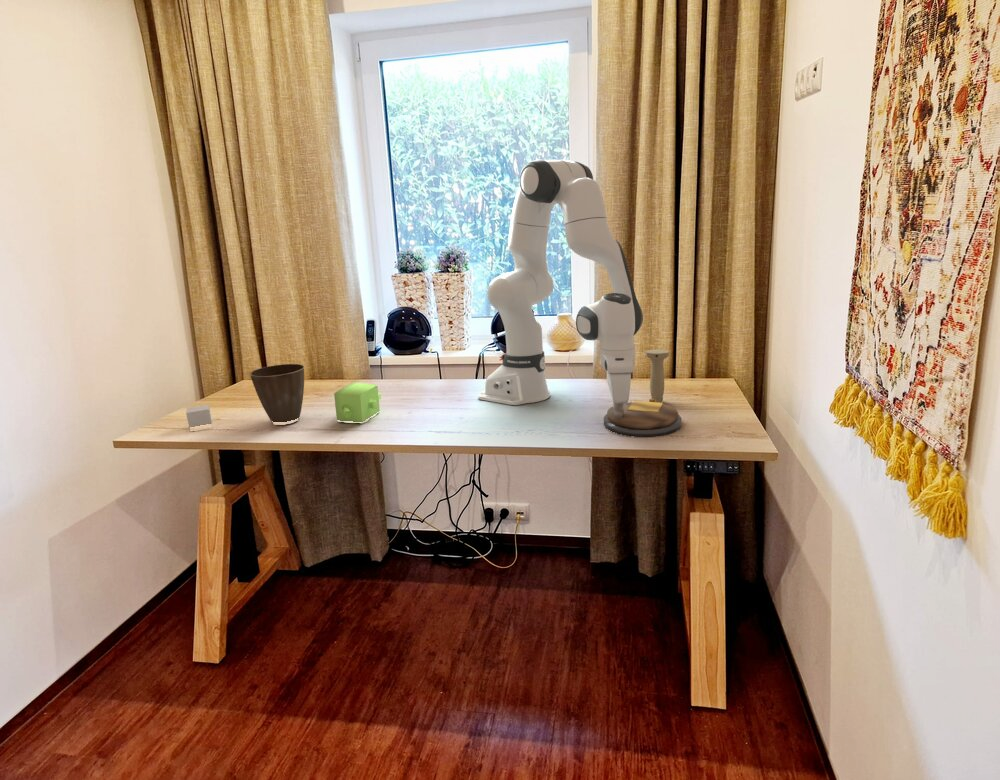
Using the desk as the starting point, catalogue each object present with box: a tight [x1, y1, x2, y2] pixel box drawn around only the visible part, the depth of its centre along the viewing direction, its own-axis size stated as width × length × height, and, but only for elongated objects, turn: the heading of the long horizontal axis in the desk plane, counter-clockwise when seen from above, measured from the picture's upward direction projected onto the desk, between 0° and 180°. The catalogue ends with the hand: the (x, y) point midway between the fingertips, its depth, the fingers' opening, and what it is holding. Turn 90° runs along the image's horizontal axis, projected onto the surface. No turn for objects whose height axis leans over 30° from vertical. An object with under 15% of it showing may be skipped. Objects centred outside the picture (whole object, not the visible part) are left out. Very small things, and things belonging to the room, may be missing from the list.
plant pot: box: [249, 363, 305, 422], centre depth 182 cm, size 15×15×16 cm
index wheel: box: [606, 400, 679, 429], centre depth 162 cm, size 18×18×6 cm
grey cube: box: [185, 404, 213, 428], centre depth 184 cm, size 6×6×6 cm
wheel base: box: [603, 398, 683, 438], centre depth 164 cm, size 20×21×4 cm
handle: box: [645, 349, 670, 403], centre depth 179 cm, size 5×6×15 cm
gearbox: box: [333, 382, 382, 422], centre depth 181 cm, size 18×10×10 cm, turn 162°
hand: (616, 409), depth 163 cm, fingers closed
